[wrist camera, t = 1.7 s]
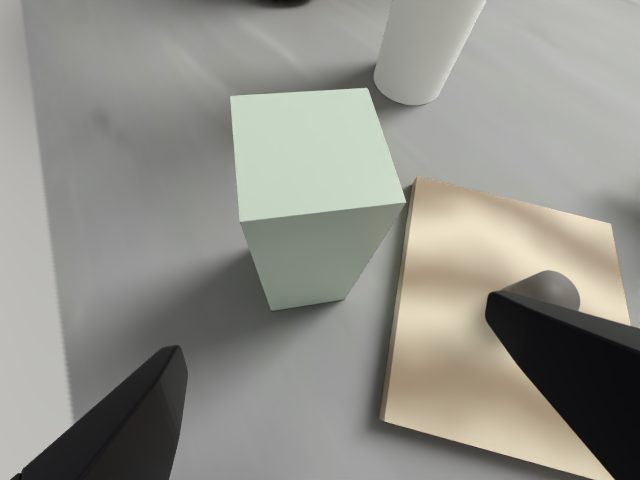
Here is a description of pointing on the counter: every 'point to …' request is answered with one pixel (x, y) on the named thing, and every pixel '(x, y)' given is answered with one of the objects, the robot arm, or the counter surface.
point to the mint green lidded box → (312, 190)
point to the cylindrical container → (422, 47)
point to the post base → (470, 324)
